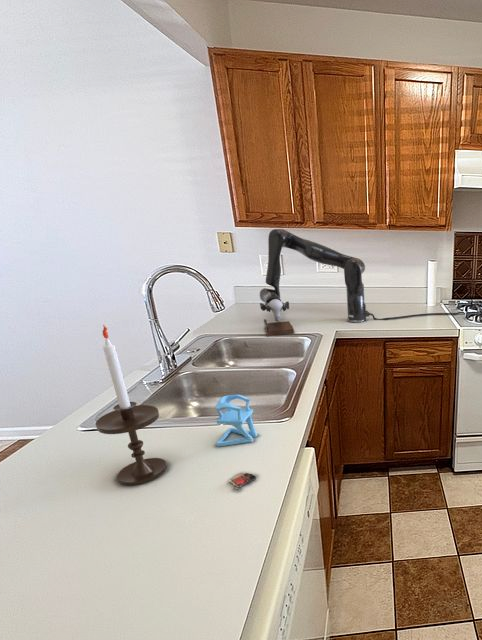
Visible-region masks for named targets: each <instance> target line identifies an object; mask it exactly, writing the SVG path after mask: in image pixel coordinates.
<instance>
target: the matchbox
mask: <svg viewBox="0 0 482 640" xmlns="http://www.w3.org/2000/svg"><path fill="white" fill-rule="evenodd" d="M256 478H257V476H256V475H254V474H253V473H250V472H244V473H238V474H236V475H235V476H234V477H232V479H230V480H229V482H230V483H231V484H232V485H233V486H234V489H235V490H239V488H241V487H242V486H244V485H246V484H248V483H249V482H252V481H253V480H255V479H256Z"/></svg>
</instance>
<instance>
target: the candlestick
mask: <svg viewBox="0 0 482 640" xmlns="http://www.w3.org/2000/svg"><path fill="white" fill-rule="evenodd" d="M102 326H103V329H102V336H103V338H104V339H105V340H104V341H105V343H104V345H103V346H102V350H103V352H104V356H105V360H106V363H107V367H108V371H109V374H110V379H111V382H112V385H113V389H114V392H115V395H116V400H117V403H118V404H116V405H115V406H113V410H112V411H110V412H108V413H105V414H103V415H102V416H100V417H99V418H98V419H97V420H96V422H95V428H96V431H97V432H99V433H100V434H104V435H120V434H127V433H128V436H129V441H130V442H129V443H128V444H127V448H128V450H130V451H132V453H131V455H130V456H131V458H132V459H133V458H134V459H135V461H134V462H131V463H129V464H127V465H125V466H124V467H123V468H122V469H121V470H119V472H118V473H117V481H118V482H119V484H121V485H123V486H127V487H131V486H133V487H134V486H140V485H143V484H147V483H149V482H152V481H154V480H156V479H158V478H159V477H161V476H162V475H163V474H164V473H165V472H166V471H167V468H168V466H167V462H166V460H165V459H163V458H160V457H148V458H144V455H145V454H146V451H145V450H144V449H142V447H143V446H144V441H143V440H141V439H139V437H138V434H137V431H138V430H141V429H143V428H146V427H148V426H150V425H152V424H153V423H155V422H156V421H157V420H158V419H159V417H160V412H159V409H158V407H156V406H154V405H151V404H150V405H148V404H140V405H138V404H137V402H135V401H130V397H129V394H128V390H127V386H126V383H125V379H124V375H123V371H122V368H121V363H120V360H119V355H118V353H117V349H116V346H115V344H112V343H111V341H110V339H109V334H108V327H106V325H105V324H103V325H102Z"/></svg>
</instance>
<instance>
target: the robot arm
mask: <svg viewBox="0 0 482 640" xmlns="http://www.w3.org/2000/svg"><path fill="white" fill-rule="evenodd" d="M267 239H268V240H267V243H268V245H267V246H268V247H267V248H268V249H267V250H268V251H267V253H268V255H267V268H266V274H265V281H264V282H265V284H266V285H268V286H270V287H273V288H274V289H272V288H265V287H264V288H261V289H260V291H259V298H260V301H262V302H260V303H259V308H260V310H261V311H262V312H265V311H266V312H268V313H271V312H272V310H271V309H270V307H269V304H270V302H271V301H272V300H273V299H278V300H280V301H281V302H282V304H283V308H282V311H283V312H286V311H287V310H290V301H285V302H283V301H282V299H281V291H280V281H281V275H282V266H281V253H282V249H283V248H286V249H289V250H293V251H296V252H298V253H299V254H301V255H303V256H304V257H306V258H307V259H309V260H310V261H313V262H316V263H319V264H323V265H327V266H332V267H338V268H340V269H343V275H344V284H345V288H346V309H347V322H350V323H362V322H367V317H369V318H370V316H371V317H372V319H373V320H375V321H388V320H396V319H397V320H398V319H404V318H412V317H421V316H422V317H423V316H436V315H439V316H441V315H442V316H443V315H449V316H450V315H452V316H453V315H455V316H456V315H460V314H464V315H465V313H466V312H465V311H457V312H430V313H429V312H428V313H427V312H426V313H418V314H417V313H416V314H407V315H400V316H393V317H384V318H378V317H375V315H374V314H373V313H371V312H370V311H368V310H367V308H366V307H367V304H366V302H365V285H364V283H363V279H362V274H364V272H365V271H366V265H365V263H364V261H362V259H360V258H357V257H354V256H351V255H347V254H344V253H342V252H339V251H337V250H335V249H332V248H331V247H328V246H326V245H323V244H320V243H317V242H315V241H312V240H309V239H306V238H302V237H300V236H298V235H296V234H294V233H292V232H290V231H288V230H286V229H283V228H274V229H272V230H270V231H269V233H268V237H267ZM464 312H465V313H464Z"/></svg>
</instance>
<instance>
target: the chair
mask: <svg viewBox="0 0 482 640" xmlns="http://www.w3.org/2000/svg"><path fill="white" fill-rule="evenodd" d="M236 399H237V400H242V401H244V402H245V408H243V407H241V406H237V405H235V404H232V403H231V401H233V400H236ZM250 401H251V398H249V397H246V396H244V395H242V394H230V395H225V396H221V397H220V398H219V399H218V401H217V403H216V405H215V407H214V408H215V410H216V412H217V413H218V416H219V417H218V418H217V419H216V420H215V421H216V425H223V424H225V425H229V426H232V427H229V428H228V429H227V430H226V431H225V433H224V434H223V435H222V436H221V437H220V438H219V439H218V440H217V442H216V447H224V446H231V445H238V444H239V445H240V444H245V443H252V442H254V438H256V437H258V433H257V431H256V429H255V425H254V422H253V419H252V414H253V413H254V408H250ZM223 410H225V411H224V412H222V411H223ZM244 423H246V425H247V426H248V429H249V431H248V430H246V429H245V427H244V426H243V425H244ZM231 433H235V434H239V435H243V436H244V437H242V438H235V439H230V440H225V439H226V438H228V436H229V435H230V434H231Z"/></svg>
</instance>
